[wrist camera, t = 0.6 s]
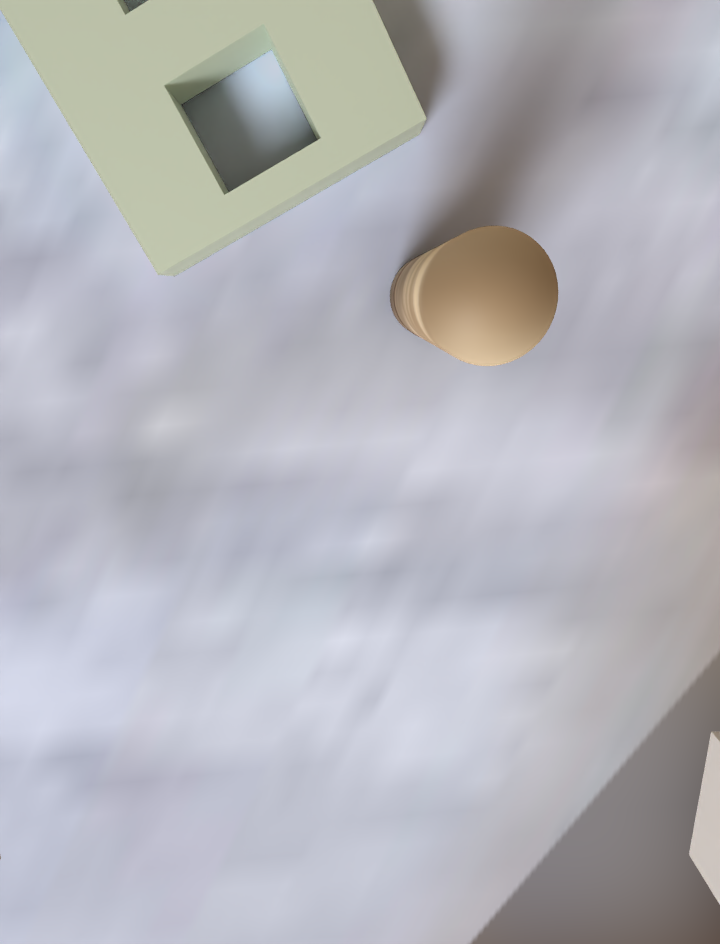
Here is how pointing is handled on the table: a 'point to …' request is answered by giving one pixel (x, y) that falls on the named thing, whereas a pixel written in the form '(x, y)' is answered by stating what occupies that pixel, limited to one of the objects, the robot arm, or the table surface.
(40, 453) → the table surface
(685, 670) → the table surface
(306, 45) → the board
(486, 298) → the peg
